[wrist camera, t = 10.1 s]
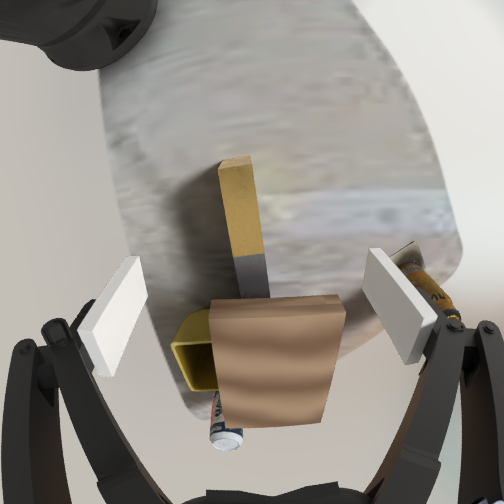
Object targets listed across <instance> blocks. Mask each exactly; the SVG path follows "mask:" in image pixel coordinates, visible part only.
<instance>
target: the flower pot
mask: <svg viewBox="0 0 504 504" xmlns="http://www.w3.org/2000/svg"><path fill="white" fill-rule="evenodd" d="M209 312H210V309H202V310H199V311H196V312H194V313H192V314H190V315H189V316H188V317H186V318H185V320H184V321H183V322H182V324H181V326H180V327H179V329H178V331H177V333H176V335H175V337H174V339H173V341H172V343H171V344H170V346H171V349H172V351H173V353H174V356H175V358H176V360H177V362H178V364H179V367H180V369H181V371H182V373H183V376H184V378H185V380H186V382H187V384H188V386H189V388H190V390H191V391H197V392H203V391H219V387H218V381H217V375H216V369H215V362H214V356H213V349H212V342H211V335H210V327H209V320H208V318H209Z"/></svg>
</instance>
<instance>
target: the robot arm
mask: <svg viewBox="0 0 504 504" xmlns="http://www.w3.org/2000/svg"><path fill="white" fill-rule="evenodd" d="M157 3H158V0H0V39H1V40H8V41H13V42H19V43H24V44H30V45H34V46H37V47H38V48H40V49H41V50H43V51H44V52H45V54H46V55H47V57H48V58H49V59H50V60H51V61H52V62H53V63H55V64H56V65H58V66H60V67H62V68H66V69H71V70H75V71H90V70H95V69H99V68H102V67H104V66H107V65H109V64H111V63H113V62H114V61H116V60H118V59H119V58H121V57H122V56H123V55H125V54H126V53H127V52H129V51H130V50H131V49H132V48H133V47H134V46H135V45H136V44H137V43H138V42H139V41H140V39H141V38H142V37H143V36H144V34H145V33H146V31H147V30H148V28H149V27H150V25H151V23H152V21H153V19H154V16H155V13H156V9H157ZM362 290H363V292H364V293H365V295H366V297H367V298H368V300H369V302H370V303H371V305H372V307H373V309H374V310H375V312H376V314H377V315H378V317H379V319H380V321H381V322H382V324H383V326H384V328H385V329H386V331H387V333H388V335H389V336H390V338H391V340H392V342H393V344H394V346H395V347H396V349H397V351H398V353H399V355H400V357H401V358H402V360H403V362H404V364H405V365H409V364H414V363H418V362H419V360H420V358H421V355H422V354H424V356H425V357H426V361H425V362H424V364H423V367H422V369H421V371H420V373H419V375H420V377H419V379H418V382H417V385H416V388H415V391H414V393H413V396H412V398H411V401H410V404H409V406H408V409H407V411H406V414H405V416H404V418H403V421H402V423H401V425H400V427H399V430H398V432H397V434H396V436H395V438H394V440H393V442H392V444H391V447H390V448H389V450H388V453H387V454H386V456H385V458H384V460H383V463H382V464H381V466H380V468H379V470H378V471H377V473H376V475H375V477H374V478H373V480H372V482H371V483H370V484H369V485H368V487H367V488H366V490H365V491H364V493H362V492H359V491H356V490H353V489H347V488H339V486H338V482H331V483H325V484H319V485H312V486H306V487H303V488H300V489H297V490H294V491H291V492H288V493H284V494H281V495H278V496H265V495H259V494H254V493H248V492H243V491H229V490H228V491H227V490H226V491H225V490H206V496H202V497H198V498H194V499H191V500H189V501H186V502H184V503H182V504H426V503H427V500H428V498H429V496H430V494H431V491H432V489H433V486H434V484H435V481H436V479H437V476H438V474H439V471H440V467H441V462H439V461H438V458H439V454H440V451H441V449H442V445H443V442H444V439H445V435H446V432H447V429H448V425H449V422H450V418H451V414H452V410H453V406H454V402H455V398H456V393H457V388H458V383H459V380H460V393H461V410H462V454H461V472H460V483H459V493H458V504H504V341H503V338H502V335H501V332H500V330H499V328H498V327H497V326H496V325H495V324H494V323H492V322H490V321H481V322H480V323H479V324H478V327H477V329H467V328H466V327H465V325H464V324H463V323H462V322H461V321H459V320H457V319H454V318H447V316H446V315H445V314H444V313H443V311H442V310H441V309H440V308H439V307H438V305H437V304H435V302H434V301H433V299H431V297H430V296H429V295H428V293H427V292H425V291H424V290H422V289H421V288H419V287H416V288H415V287H414V286H413V285H412V284H411V282H410V281H409V280H408V279H407V278H406V277H405V275H404V274H403V273H402V272H401V271H400V270H399V269H398V267H397V266H396V265H395V264H394V263H393V262H392V261H391V259H390V258H389V257H388V256H387V255H386V254H385V253H384V252H383V251H382V250H381V248H369V250H368V256H367V262H366V268H365V274H364V280H363V285H362ZM147 297H148V294H147V290H146V286H145V281H144V277H143V272H142V268H141V263H140V258H139V256H127V257H126V258H125V260H124V261H123V262H122V264H121V265H120V267H119V268H118V269H117V271H116V272H115V274H114V275H113V277H112V278H111V279H110V281H109V282H108V284H107V285H106V287H105V288H104V290H103V291H102V292H101V294H100V295H99V297H98V298H97V299H92V300H90V301H89V302H88V303H86V304H85V305H84V307H83V308H82V309H81V311H80V313H79V314H78V315H77V318H75V320H74V321H73V323H72V324H71V326H70V327H69V326H68V324H67V322H66V320H65V319H62V318H56V319H52V320H50V321H48V322H47V323H46V324H45V325H43V327H42V329H41V333H42V336H43V338H44V340H45V341H46V343H47V346H39V347H37V345H36V343H35V342H34V340H32V339H24V340H21V341H20V342H18V343H17V344H16V345H15V347H14V349H13V353H12V357H11V363H10V368H9V374H8V380H7V386H6V394H5V402H4V411H3V423H2V443H1V444H2V445H1V469H2V488H3V500H4V504H72V502H71V498H70V493H69V488H68V483H67V477H66V471H65V465H64V458H63V450H62V441H61V432H60V417H59V395H58V394H59V392H58V388H60V390H61V393H62V396H63V399H64V402H65V405H66V408H67V410H68V413H69V416H70V419H71V421H72V424H73V426H74V429H75V431H76V434H77V436H78V439H79V441H80V443H81V445H82V448H83V450H84V452H85V454H86V456H87V458H88V461H89V463H90V465H91V467H92V469H93V471H94V473H95V474H96V476H97V479H98V482H97V487H98V489H99V491H100V493H101V495H102V497H103V499H104V500H105V502H106V504H173V503H172V502H171V501H170V500H169V499H168V498H167V496H166V495H165V494H164V493H163V492H162V490H161V489H160V488H159V487H158V485H157V484H156V483H155V481H154V480H153V478H152V477H151V476H150V474H149V473H148V471H147V470H146V468H145V467H144V466H143V464H142V463H141V462H140V460H139V458H138V457H137V455H136V453H135V452H134V450H133V449H132V447H131V446H130V444H129V442H128V441H127V439H126V438H125V436H124V434H123V432H122V431H121V429H120V427H119V425H118V424H117V422H116V420H115V418H114V417H113V415H112V413H111V411H110V409H109V408H108V406H107V403H106V402H105V400H104V398H103V396H102V394H101V392H100V390H99V388H98V386H97V383H96V381H95V379H94V377H93V375H92V371H93V369H94V367H95V369H96V371H97V373H98V375H99V376H105V377H113V376H114V374H115V371H116V369H117V366H118V364H119V361H120V359H121V356H122V354H123V352H124V349H125V347H126V344H127V342H128V340H129V338H130V335H131V333H132V330H133V328H134V326H135V324H136V322H137V319H138V317H139V315H140V313H141V310H142V308H143V306H144V304H145V302H146V299H147Z"/></svg>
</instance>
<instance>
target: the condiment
mask: <svg viewBox="0 0 504 504" xmlns="http://www.w3.org/2000/svg"><path fill="white" fill-rule="evenodd" d="M389 258H390V259H391V261H392V262H393V263H394V264H395V265H396V266H397V267H398V269H399V270H400V271H401V272H402V273H403V274H404V275H405V277H406V278H407V279H408V280H409V281H410V282H411V284H412V285H413V286H414V287H415V288H416V287H419V288H421V289H422V290H424V291H425V292H427V293H428V295H429V296H430V297H431V299H433V301H434V302H435V304H437V305H438V307H439V308H440V309H441V310H442V311H443V313H444V314H445V315H446V316H447V318H454V319H457V320H459V321H461V316H460V313H459V311H457V310H456V309H455V307H454V306H453V304H452V301H451V298H450V297H449V296H448V295H447V294H446V293H445V292H444V291H443V290H442V289H441V288H440V287H439V286H438V285H437V284H436V283H435V281H434V280H433V279H432V278H431V277H430V276H429V275H428V274H427V271H426V268H425V264H424V261H423V258H422V255H421V252H420V249H419V246H418V243H417V240H416V241H414V242H413V243H411V244H409V245H408V246H406V247H405V248H403V249H402V250H400V251H398V252H397V253H395V254H394V255H392V256H390V257H389ZM414 260H415V262H414Z"/></svg>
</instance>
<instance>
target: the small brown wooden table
mask: <svg viewBox="0 0 504 504" xmlns="http://www.w3.org/2000/svg"><path fill="white" fill-rule="evenodd" d="M345 317H346V311H345V309H344V307H343V305H342V303H341V301H340V299H339V296H338V294H337V295H321V296H303V297H282V298H255V299H215V300H211V306H210V312H209V318H208V320H209V327H210V335H211V342H212V349H213V356H214V362H215V369H216V375H217V381H218V387H219V393H220V399H221V405H222V411H223V416H224V422H225V427H226V428H264V427H282V426H294V425H304V424H314V423H320V422H321V419H322V415H323V412H324V408H325V404H326V401H327V397H328V393H329V389H330V386H331V381H332V377H333V373H334V369H335V365H336V360H337V356H338V351H339V347H340V342H341V337H342V332H343V327H344V322H345Z"/></svg>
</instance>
